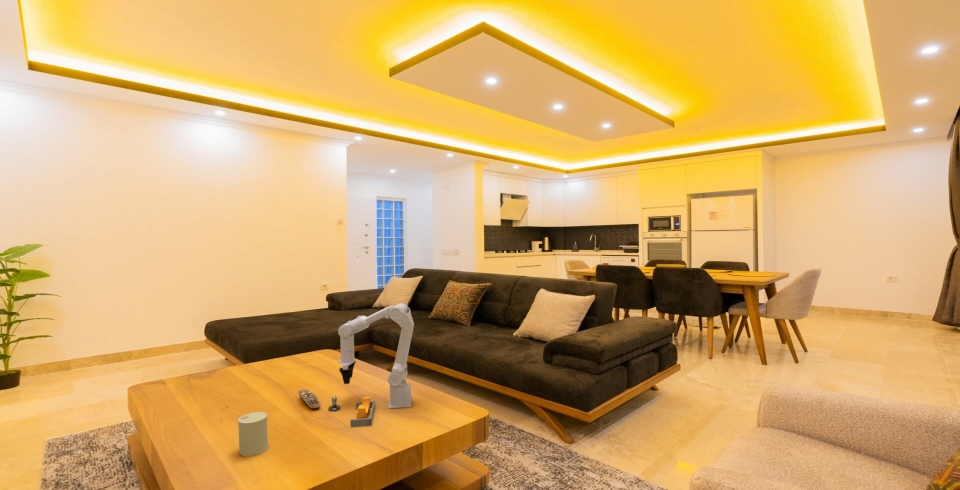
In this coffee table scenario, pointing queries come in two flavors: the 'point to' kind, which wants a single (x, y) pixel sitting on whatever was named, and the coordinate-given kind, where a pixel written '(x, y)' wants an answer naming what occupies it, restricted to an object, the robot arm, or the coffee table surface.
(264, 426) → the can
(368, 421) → the u-shaped bracket
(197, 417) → the coffee table surface
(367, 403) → the pipe clamp
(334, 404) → the ball stud
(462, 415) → the coffee table surface
